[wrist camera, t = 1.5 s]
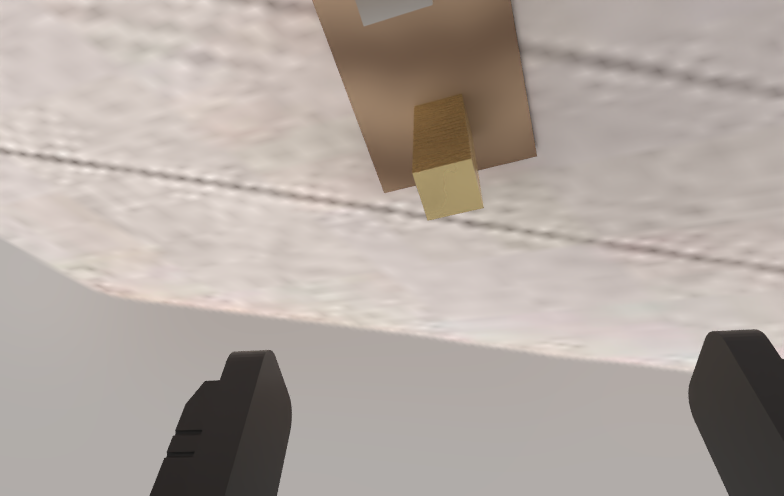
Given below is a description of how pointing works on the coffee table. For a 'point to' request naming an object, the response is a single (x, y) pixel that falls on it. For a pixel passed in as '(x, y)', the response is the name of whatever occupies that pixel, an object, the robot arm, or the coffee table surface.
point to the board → (429, 75)
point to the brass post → (445, 158)
